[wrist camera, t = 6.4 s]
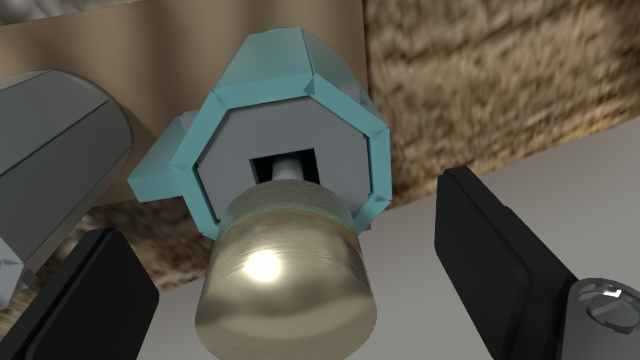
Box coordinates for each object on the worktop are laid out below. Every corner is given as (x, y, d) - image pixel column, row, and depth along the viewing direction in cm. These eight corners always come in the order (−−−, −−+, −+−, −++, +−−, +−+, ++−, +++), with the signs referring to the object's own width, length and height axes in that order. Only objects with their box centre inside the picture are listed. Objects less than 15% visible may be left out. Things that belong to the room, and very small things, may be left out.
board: (355, -37, 20) (359, -38, 19) (369, 151, 27) (373, 158, 26) (-64, 37, 20) (-82, 40, 19) (57, 205, 27) (49, 214, 26)
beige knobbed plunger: (323, 45, 20) (407, 210, 6) (334, 127, 23) (408, 369, 9) (234, 60, 20) (111, 261, 6) (256, 141, 23) (208, 402, 9)
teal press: (337, 17, 20) (386, 59, 10) (349, 132, 25) (393, 242, 14) (171, 46, 20) (58, 116, 10) (212, 155, 25) (159, 282, 14)
